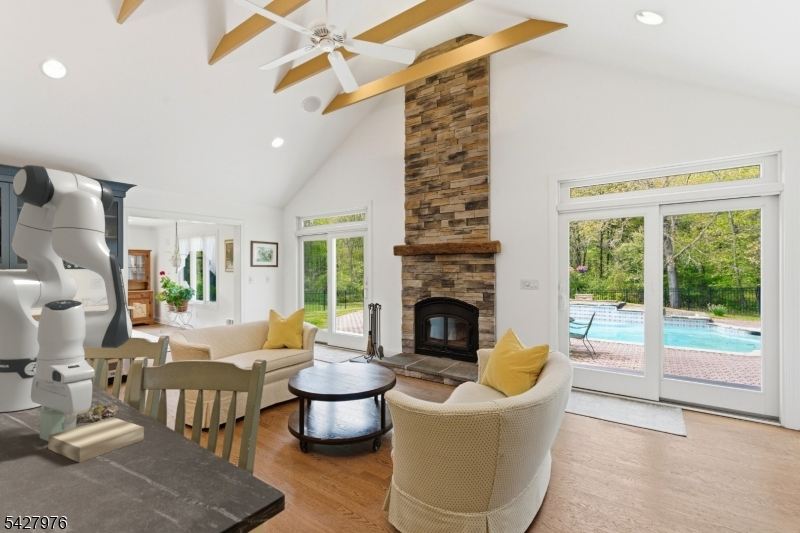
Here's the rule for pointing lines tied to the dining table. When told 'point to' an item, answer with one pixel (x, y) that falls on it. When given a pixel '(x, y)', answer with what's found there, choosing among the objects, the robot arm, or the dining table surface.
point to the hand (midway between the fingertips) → (58, 426)
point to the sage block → (51, 423)
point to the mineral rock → (97, 413)
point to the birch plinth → (95, 439)
